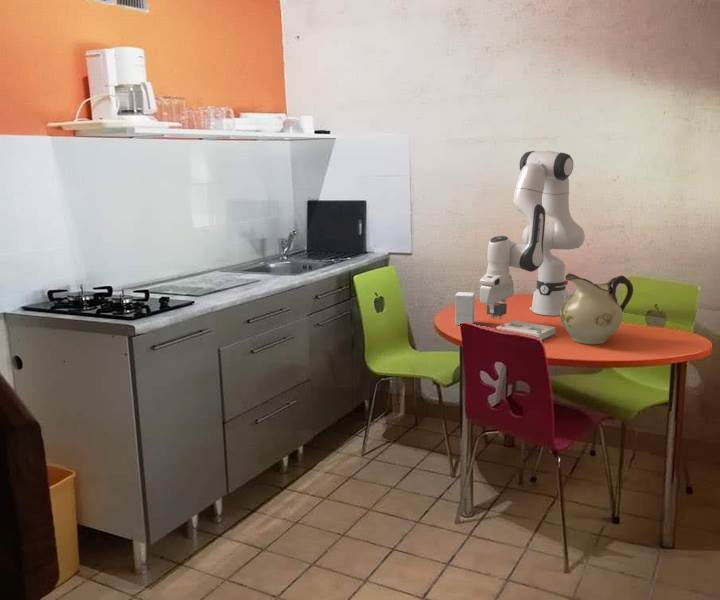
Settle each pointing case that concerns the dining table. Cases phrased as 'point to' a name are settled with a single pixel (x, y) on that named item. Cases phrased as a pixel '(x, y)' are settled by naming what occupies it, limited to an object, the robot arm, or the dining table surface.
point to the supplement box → (464, 307)
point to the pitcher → (593, 309)
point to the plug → (497, 310)
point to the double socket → (529, 329)
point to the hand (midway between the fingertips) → (496, 311)
